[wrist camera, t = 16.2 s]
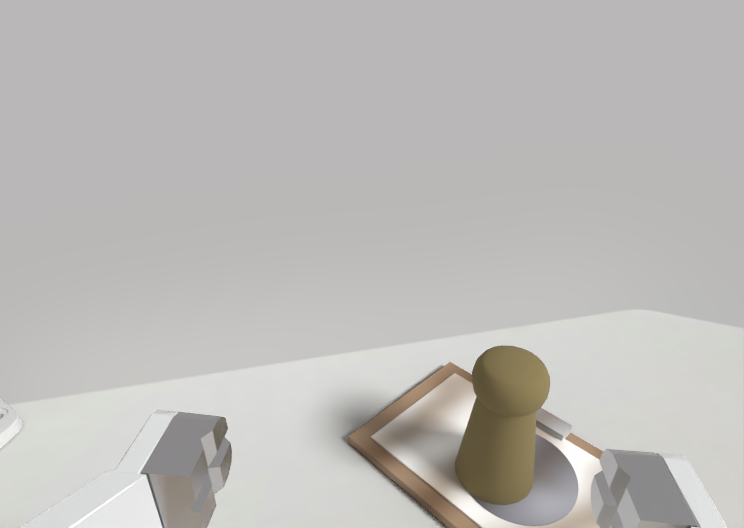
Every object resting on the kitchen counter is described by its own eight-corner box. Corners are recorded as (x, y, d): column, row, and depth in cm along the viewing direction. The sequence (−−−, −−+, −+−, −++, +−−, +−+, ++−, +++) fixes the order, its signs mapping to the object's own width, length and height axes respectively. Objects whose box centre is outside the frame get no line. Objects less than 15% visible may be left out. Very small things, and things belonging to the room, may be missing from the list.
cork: (447, 441, 41) (459, 335, 35) (518, 437, 41) (540, 331, 36) (465, 508, 35) (482, 394, 30) (546, 502, 36) (576, 389, 31)
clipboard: (348, 442, 42) (348, 429, 41) (449, 368, 51) (450, 355, 50) (570, 632, 29) (575, 618, 29) (653, 490, 38) (659, 476, 37)
